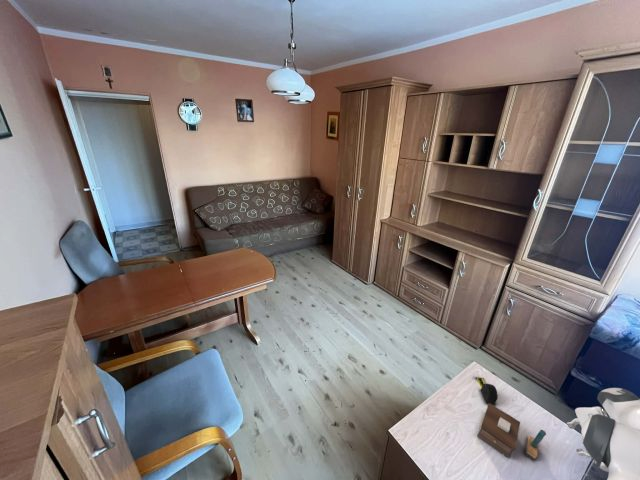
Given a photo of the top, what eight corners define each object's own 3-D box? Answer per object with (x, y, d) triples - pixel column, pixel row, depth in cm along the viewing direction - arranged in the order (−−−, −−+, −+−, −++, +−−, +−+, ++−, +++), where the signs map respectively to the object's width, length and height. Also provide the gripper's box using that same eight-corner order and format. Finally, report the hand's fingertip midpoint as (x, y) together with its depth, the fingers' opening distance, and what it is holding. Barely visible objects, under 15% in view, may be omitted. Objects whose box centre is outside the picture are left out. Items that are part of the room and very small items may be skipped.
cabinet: (507, 460, 111) (514, 450, 108) (475, 437, 119) (480, 427, 115) (513, 432, 121) (520, 422, 118) (483, 412, 129) (489, 402, 125)
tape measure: (494, 405, 132) (499, 395, 129) (485, 404, 133) (490, 394, 129) (482, 379, 145) (487, 369, 142) (474, 378, 146) (479, 368, 142)
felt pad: (507, 432, 114) (509, 430, 113) (497, 425, 116) (498, 423, 115) (509, 425, 116) (510, 423, 116) (499, 419, 119) (500, 417, 118)
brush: (533, 460, 112) (547, 443, 106) (524, 454, 114) (537, 436, 108) (535, 445, 117) (548, 427, 111) (527, 439, 119) (539, 422, 113)
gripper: (597, 401, 102) (558, 406, 111) (627, 463, 86) (578, 464, 95) (608, 410, 103) (568, 415, 111) (639, 474, 87) (589, 474, 95)
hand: (572, 438), depth 103 cm, fingers open, 8 cm apart
